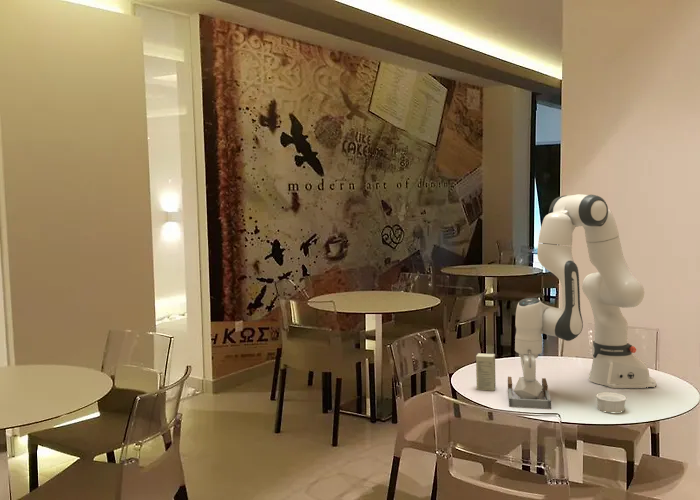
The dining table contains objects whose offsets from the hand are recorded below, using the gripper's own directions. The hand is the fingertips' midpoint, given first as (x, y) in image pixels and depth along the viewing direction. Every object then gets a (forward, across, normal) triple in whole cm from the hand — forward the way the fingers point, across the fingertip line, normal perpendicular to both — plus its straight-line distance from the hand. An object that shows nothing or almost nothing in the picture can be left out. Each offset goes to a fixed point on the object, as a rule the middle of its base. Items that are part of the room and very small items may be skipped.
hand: (527, 386), depth 227 cm
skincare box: (+3, +5, +14) cm, 15 cm away
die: (+3, -5, 0) cm, 6 cm away
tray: (+3, -7, 0) cm, 7 cm away
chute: (+3, +4, 0) cm, 5 cm away
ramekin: (+4, -10, -25) cm, 27 cm away
